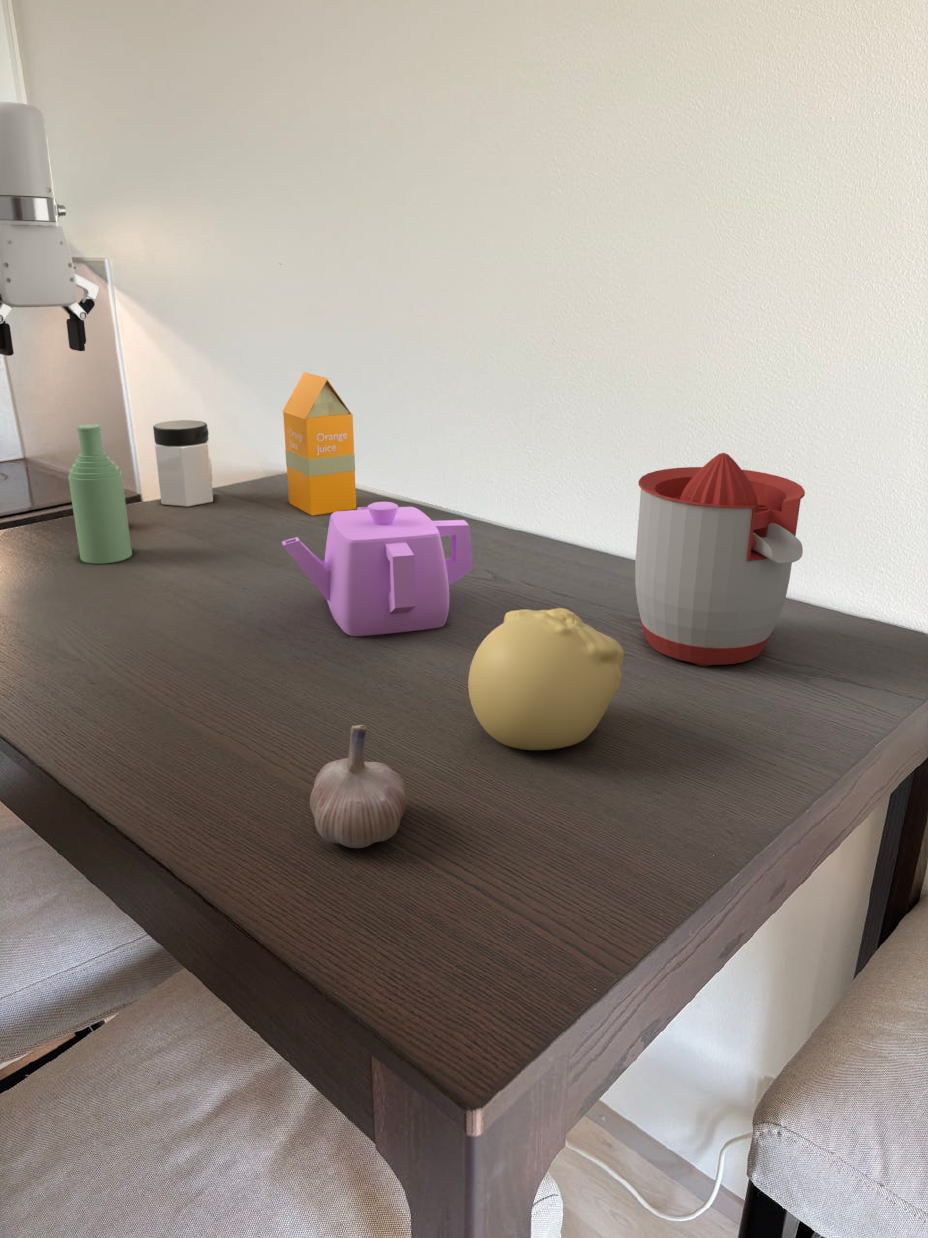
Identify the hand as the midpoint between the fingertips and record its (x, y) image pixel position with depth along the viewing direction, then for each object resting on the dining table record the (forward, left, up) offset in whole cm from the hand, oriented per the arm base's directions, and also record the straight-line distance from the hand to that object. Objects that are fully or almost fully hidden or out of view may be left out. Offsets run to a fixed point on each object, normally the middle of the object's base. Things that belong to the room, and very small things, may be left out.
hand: (42, 352), depth 127 cm
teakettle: (+53, -20, -25) cm, 62 cm away
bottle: (+12, -10, -25) cm, 29 cm away
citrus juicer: (+89, -22, -25) cm, 95 cm away
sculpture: (+75, -44, -25) cm, 90 cm away
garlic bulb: (+65, -61, -25) cm, 92 cm away
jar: (+8, +19, -25) cm, 32 cm away
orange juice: (+30, +21, -25) cm, 44 cm away
